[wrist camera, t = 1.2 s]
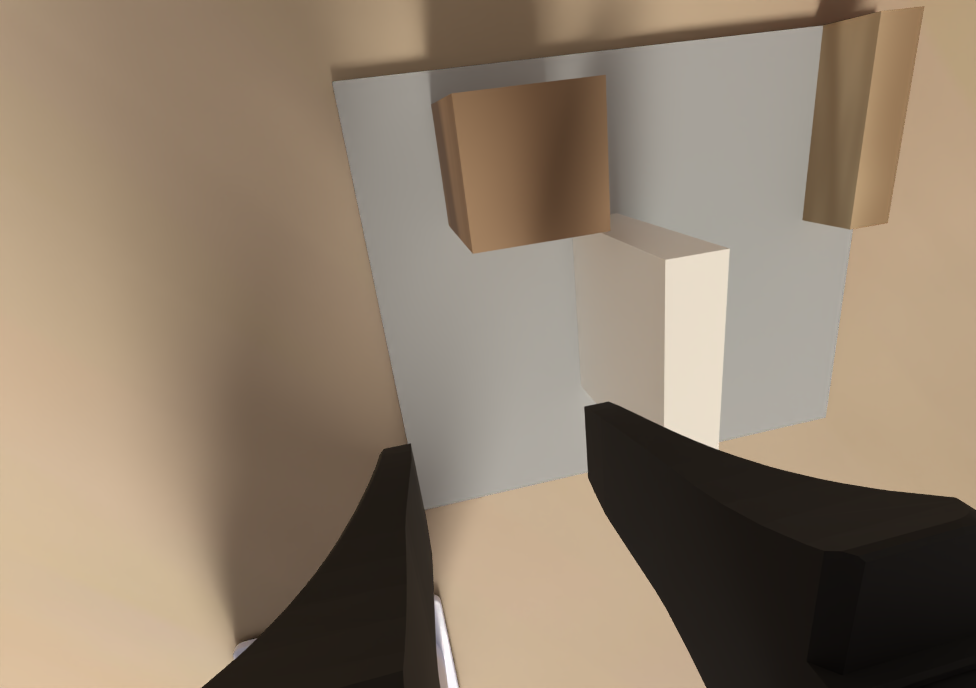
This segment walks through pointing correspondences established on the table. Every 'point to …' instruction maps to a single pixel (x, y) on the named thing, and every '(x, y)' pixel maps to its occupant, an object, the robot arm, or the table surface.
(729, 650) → the robot arm
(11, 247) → the table surface
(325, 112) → the table surface
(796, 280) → the mat
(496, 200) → the block
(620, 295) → the tile
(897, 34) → the rail
